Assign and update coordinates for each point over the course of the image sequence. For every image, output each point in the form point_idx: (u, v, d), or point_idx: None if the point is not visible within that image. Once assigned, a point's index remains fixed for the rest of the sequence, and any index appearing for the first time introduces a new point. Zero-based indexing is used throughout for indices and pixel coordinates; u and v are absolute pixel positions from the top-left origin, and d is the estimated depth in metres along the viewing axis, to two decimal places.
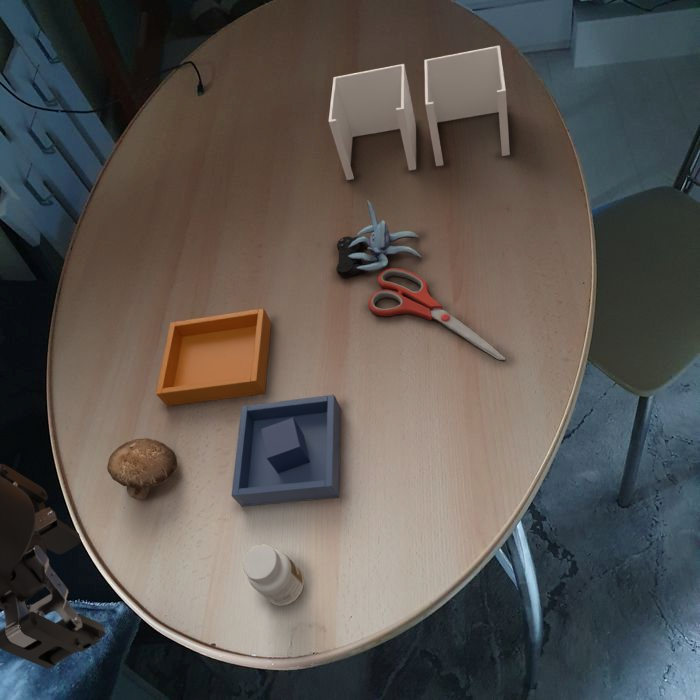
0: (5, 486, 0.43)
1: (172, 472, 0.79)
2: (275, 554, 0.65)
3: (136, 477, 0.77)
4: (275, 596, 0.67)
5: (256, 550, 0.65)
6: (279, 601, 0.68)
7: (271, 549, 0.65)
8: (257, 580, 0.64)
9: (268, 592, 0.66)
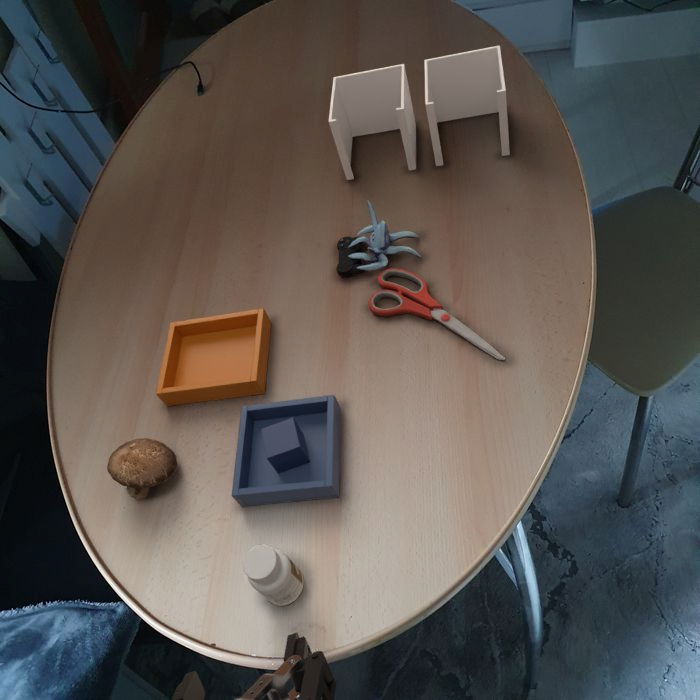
0: None
1: (172, 472, 0.79)
2: (275, 554, 0.65)
3: (136, 477, 0.77)
4: (275, 596, 0.67)
5: (256, 550, 0.65)
6: (279, 601, 0.68)
7: (271, 549, 0.65)
8: (257, 580, 0.64)
9: (268, 592, 0.66)
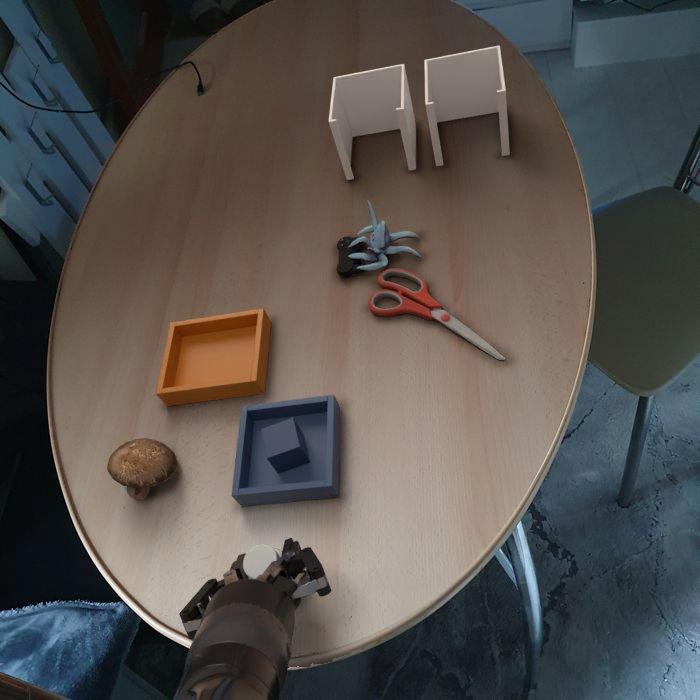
0: None
1: (172, 472, 0.79)
2: (275, 554, 0.65)
3: (136, 477, 0.77)
4: None
5: (256, 550, 0.65)
6: None
7: (271, 549, 0.65)
8: None
9: None
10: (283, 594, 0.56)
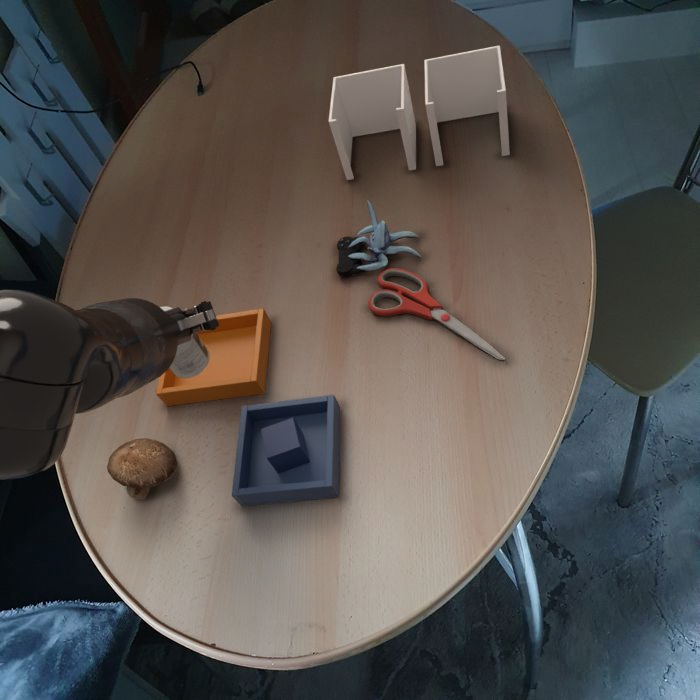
0: None
1: (172, 472, 0.79)
2: None
3: (136, 477, 0.77)
4: (177, 360, 0.69)
5: None
6: (183, 370, 0.71)
7: None
8: None
9: None
10: (166, 313, 0.58)
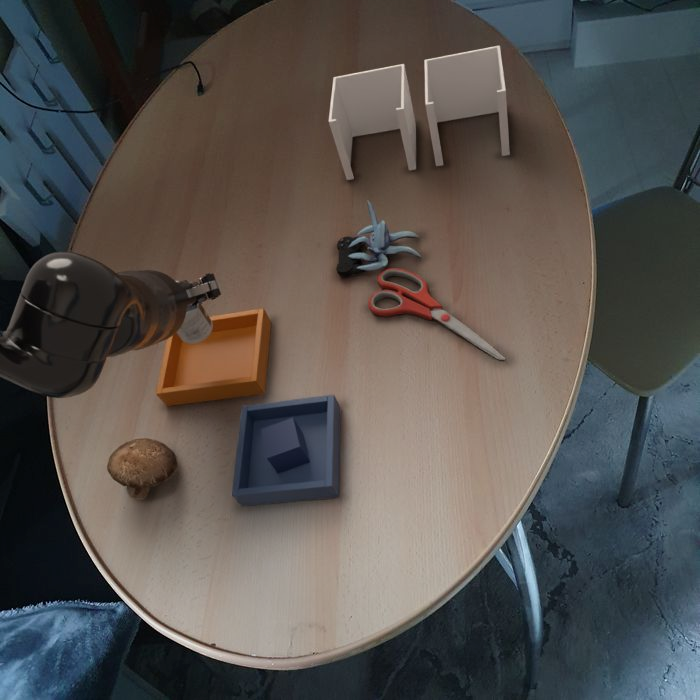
0: (158, 342, 0.67)
1: (172, 472, 0.79)
2: None
3: (136, 477, 0.77)
4: (185, 327, 0.80)
5: None
6: (190, 336, 0.82)
7: None
8: None
9: None
10: (177, 283, 0.69)
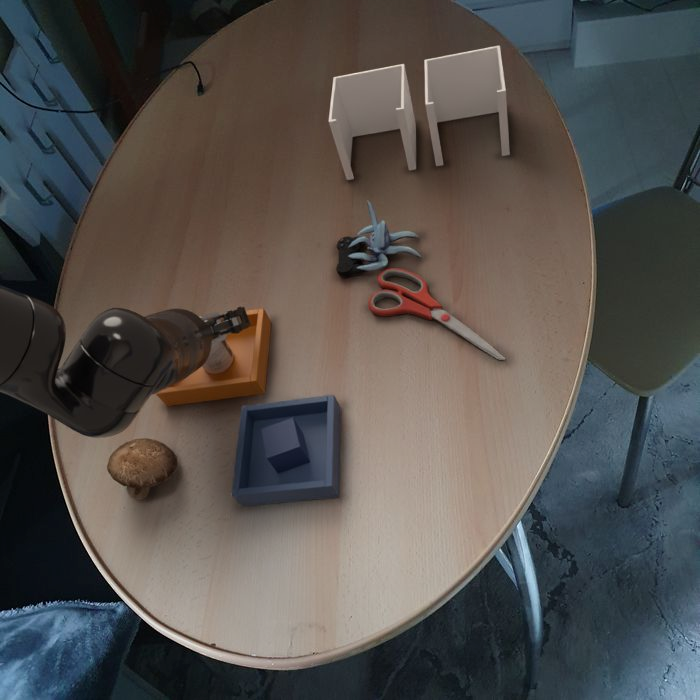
0: None
1: (172, 472, 0.79)
2: None
3: (136, 477, 0.77)
4: (208, 359, 0.86)
5: None
6: (212, 367, 0.87)
7: None
8: None
9: None
10: (202, 320, 0.75)
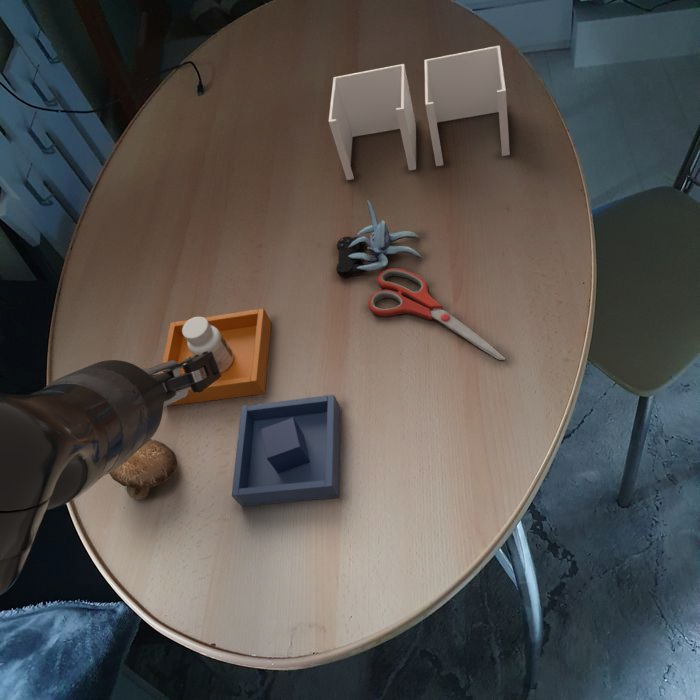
0: None
1: (172, 472, 0.79)
2: (207, 321, 0.84)
3: (136, 477, 0.77)
4: None
5: (193, 320, 0.85)
6: None
7: (204, 319, 0.84)
8: (193, 340, 0.83)
9: None
10: (150, 376, 0.53)
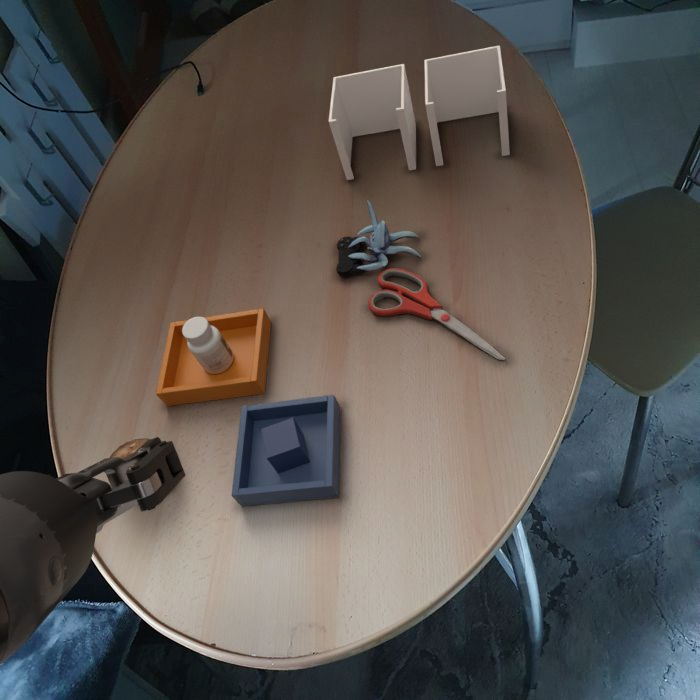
0: None
1: None
2: (207, 321, 0.84)
3: None
4: (208, 359, 0.86)
5: (193, 320, 0.85)
6: (212, 367, 0.87)
7: (204, 319, 0.84)
8: (193, 340, 0.83)
9: (202, 353, 0.85)
10: (75, 494, 0.37)
